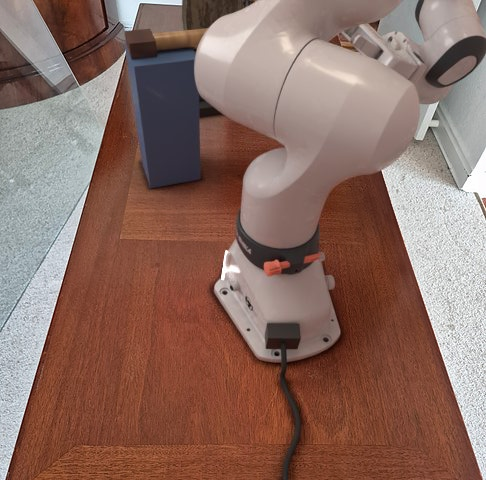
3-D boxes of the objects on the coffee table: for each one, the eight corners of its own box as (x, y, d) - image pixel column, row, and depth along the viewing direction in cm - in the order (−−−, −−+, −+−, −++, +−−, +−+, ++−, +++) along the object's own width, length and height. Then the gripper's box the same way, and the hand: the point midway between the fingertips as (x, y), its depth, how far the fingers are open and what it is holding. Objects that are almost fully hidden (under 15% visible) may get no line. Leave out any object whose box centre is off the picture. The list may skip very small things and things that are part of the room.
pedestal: (200, 179, 91) (198, 59, 71) (150, 188, 88) (134, 66, 69) (190, 154, 95) (185, 34, 76) (141, 162, 93) (124, 40, 73)
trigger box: (227, 113, 104) (228, 96, 101) (184, 119, 102) (183, 103, 99) (212, 84, 111) (212, 68, 108) (171, 90, 108) (170, 73, 105)
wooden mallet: (235, 35, 76) (235, 20, 75) (242, 47, 74) (243, 31, 72) (126, 46, 72) (124, 30, 70) (131, 59, 70) (129, 43, 68)
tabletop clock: (239, 48, 122) (245, -66, 102) (240, 66, 117) (247, -50, 97) (184, 46, 121) (180, -70, 101) (183, 64, 116) (178, -54, 96)
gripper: (376, 18, 92) (329, -16, 83) (432, 71, 81) (385, 38, 72) (355, 47, 95) (308, 17, 87) (406, 102, 84) (358, 74, 76)
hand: (344, 27), depth 80 cm, fingers open, 6 cm apart
